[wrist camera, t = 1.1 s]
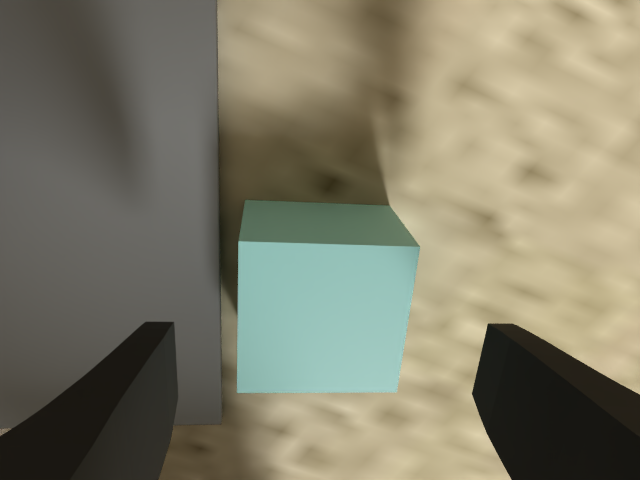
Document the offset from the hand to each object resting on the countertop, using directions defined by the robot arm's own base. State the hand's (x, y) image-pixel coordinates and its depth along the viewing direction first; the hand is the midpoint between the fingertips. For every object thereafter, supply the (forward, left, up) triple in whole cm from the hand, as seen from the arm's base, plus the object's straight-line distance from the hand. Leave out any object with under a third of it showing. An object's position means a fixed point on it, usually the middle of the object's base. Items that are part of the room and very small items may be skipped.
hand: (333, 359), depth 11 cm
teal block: (0, 0, -5) cm, 5 cm away
